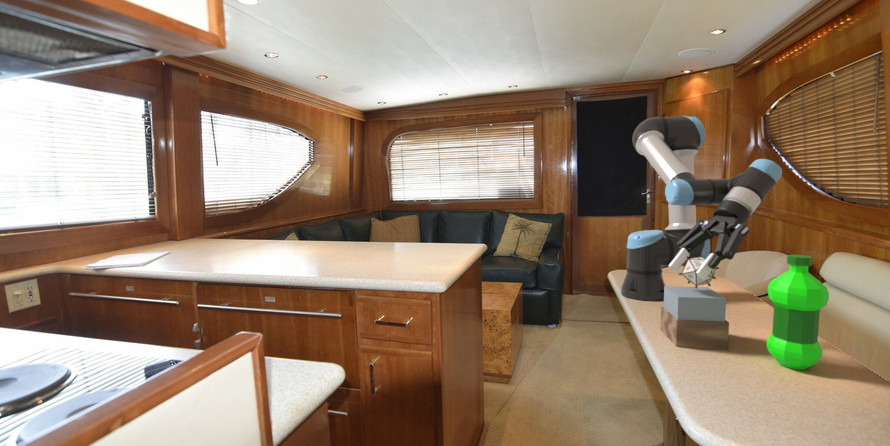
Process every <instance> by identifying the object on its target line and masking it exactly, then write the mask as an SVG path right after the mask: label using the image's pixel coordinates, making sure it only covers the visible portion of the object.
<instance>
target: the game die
mask: <svg viewBox="0 0 890 446" xmlns="http://www.w3.org/2000/svg"><path fill="white" fill-rule="evenodd" d="M686 258H687V259H688V260H687V262H686V264H682V265H683V266H682V267H683V269H682V271H681V272H678V274H677V275H678V276H683V277H684V278H685V279H686V280H687V285H688V284H690V283H691V284H693V285H694V287H695V288H697V287H699V286H703V285H707V286H708V287H711V286H712V285H711V282H712V280H713V279H714V280H717V277H716V276H715V273H716V270H719V269H720V267H719V266H717V267H716V268H715V269H712V270H711V272H710V273H709V274H708V276H707V277H706V278H705V279H704V280H702V279H701V278H700V277H699V276H698V275H697V274H696V272H697V270H698V269H699V268H700V266H701V265H702V264H703V263H704V261H705V260H706V259H704V258H702V255H700V257H697V258H689V256H687V257H686Z"/></svg>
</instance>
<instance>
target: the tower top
mask: <svg viewBox="0 0 890 446" xmlns="http://www.w3.org/2000/svg"><path fill="white" fill-rule="evenodd" d="M663 307H664V308H665V309H666V310H667V311H668V312H669V313H670V314H671V315H672V316H674V317H675V318H676V319H677V320H688V321H716V322H725V320H726V313H727V312H726V310H727V297H725V296H723V295H721V294H720V293H719V292H717V291H714V289H711V288H710V287H709V286H697V288H695V286H674V285H673V286H672V285H671V286H670V285H669V286H668V285H665V286H664V299H663Z"/></svg>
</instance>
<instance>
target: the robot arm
mask: <svg viewBox="0 0 890 446" xmlns="http://www.w3.org/2000/svg"><path fill="white" fill-rule="evenodd" d="M705 138H706V130H705V127H704V124H703V122H702V120H700V119H699V118H698V117H695V116H687V115H682V116H680V115H678V116H654V117H649V118H646V119H644V120H643V121H641V122H640V123H639V124H638V125H637V126H636V128H635V129H634V132H633V133H632V145H633V147H634V149H635V151H636V152H637V153H638V154H639V155H641V156H644V157H645V158H646V160H647V161H648V162H649V164H650V165H651V167H652V168H653V169H654V171H655V172H656V173H657V174H658V176H659V177H660V178H661V179H662V181H663V182H664V184H665V188H664V195H665V197H666V198H665V199H666V201H667V202H668V205H667V208H668V226H666V227H665V228H664V231H663V230H660V229H651V230H649V229H645V230H638V231H635V232H631V233H630V234H629V235H628V237H627V244H626V274H625V277H624V278H623V282H622V285H621V287H620V294H621V295H622V296H624V297H626V298H628V299H629V298H630V299H634V300H638V301H651V302H652V301H662V300H663V301H664V286H666V284H665V283H666V282H665V280H664V278H663V268H664V267H669V269H670V270H671V271H672V272H673V273H678V271H679V269H680V268H681V267H684V266H683V265H682V264H686V262H687V260H688V259H687V258H686V257H687V256H689V258H697V257H700V255H702V258H704V259H706V260H705V261H704V263H703V264H702V265H701V266H700V268H699V269H698V270H697V272H696V274H697V275H698V276H699V277H700V278H701V279H702V280H704V279H705V278H706V277H707V276H708V274H709V273H710V272H711V270H712V269H715V268H716V267H719V264H720V263H721V262H722V261H724V260H726V259H727V260H729V261H730V260H733V258H734V257H735V255H736V253H737V251H738V249H739V248H740V245H741V243H742V242H743V240H744V238H745V237H746V236H747V235H748V234H749V233H750V232H751V231H750V228H748V227H747V225H746V223H747V221H748V220H749V219H750V218H751V215H752V214H753V213H754V212H755V211H756V210H757V209H758V207H759V206H760V204H762V202H763V201H764V199H765V198H767V195H769V193H770V192H771V190H772V189H774V187H775V185H776V186H777V184H778V181H779V180H780V178H781V177H782V175H783V170H782V167H781V166H780V165H779V164H777V162H775V161H773V160H770V159H767V158H758V159H755V160H754V161H753V162H752V163H751V164H750V165H748V168H747V169H746V170H745V171H743V172H741V173H739V174H738V175H736V176H733V177H731V178H714V179H713V178H704V179H703V178H701V179H698V178H696V176H695V166H694V164H695V163H694V158H695V156H696V155H697V154H698V153H699V149H700V148H702V146H703V145H704V143H705ZM696 206H717V207H716V208H714V212H713V216H712V217H711V218H710V219H708V220H703V219H702V218H700V219H698V220H697V211H696V209H697V208H696ZM715 237H718V239H717V242H716V248H715V250H712V251H713V252H712V253H710V251H711V241H710V240H711V239H713V238H715Z"/></svg>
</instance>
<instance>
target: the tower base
mask: <svg viewBox="0 0 890 446" xmlns="http://www.w3.org/2000/svg"><path fill="white" fill-rule="evenodd" d="M660 309H661V311H660V312H661V313H660V331H661V332H662V334H664V335H665V337H667V339H668V338H669V339H668V340H669V341H670V340H671V341H670V342H671V343H672V344H673V345H674V346H675V347H677V348H695V349H696V348H700V349H704V348H705V349H722V350H725V349H726V350H728V349H729V336H730V335H729V333H730V330H729V329H730V322H729V321H727V320H726V319H725V322H716V321H688V320H677V319H676V318H675V317H674V316H672V315H671V314H670V313H669V312H668V311H667V310H666V309H665V308H664V306H661V307H660Z"/></svg>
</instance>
